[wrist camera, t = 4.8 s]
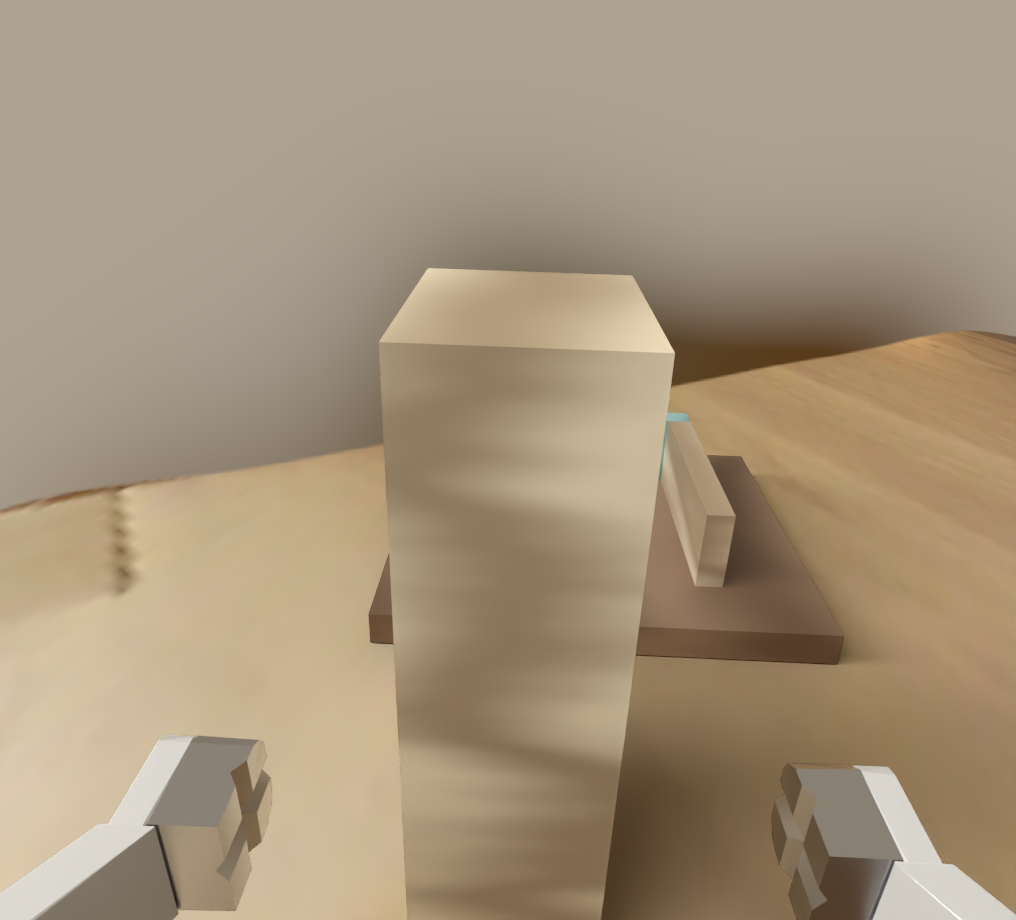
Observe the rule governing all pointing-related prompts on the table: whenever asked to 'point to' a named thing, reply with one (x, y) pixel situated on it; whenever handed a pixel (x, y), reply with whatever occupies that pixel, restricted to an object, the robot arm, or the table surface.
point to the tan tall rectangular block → (517, 577)
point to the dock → (711, 569)
